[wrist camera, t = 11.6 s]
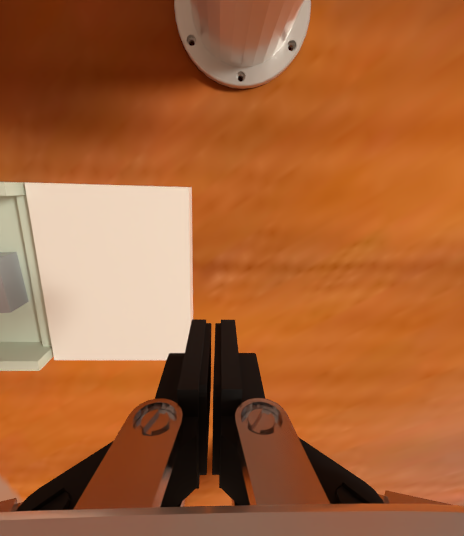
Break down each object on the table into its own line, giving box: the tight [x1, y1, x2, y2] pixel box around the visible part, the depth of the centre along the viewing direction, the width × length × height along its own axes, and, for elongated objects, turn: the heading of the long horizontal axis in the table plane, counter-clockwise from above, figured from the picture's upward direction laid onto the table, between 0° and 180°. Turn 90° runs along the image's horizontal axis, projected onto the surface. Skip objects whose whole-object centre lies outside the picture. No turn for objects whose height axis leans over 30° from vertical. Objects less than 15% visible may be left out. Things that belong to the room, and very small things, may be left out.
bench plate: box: [25, 183, 193, 360], centre depth 32 cm, size 20×16×3 cm
